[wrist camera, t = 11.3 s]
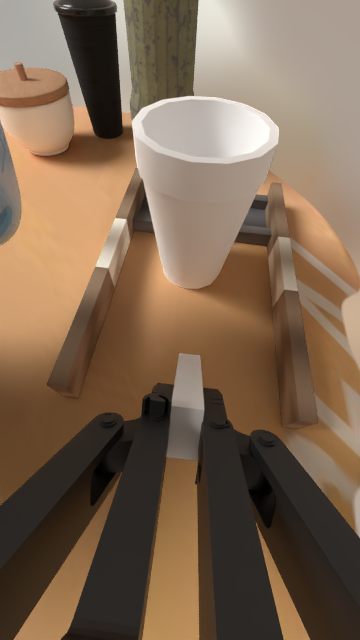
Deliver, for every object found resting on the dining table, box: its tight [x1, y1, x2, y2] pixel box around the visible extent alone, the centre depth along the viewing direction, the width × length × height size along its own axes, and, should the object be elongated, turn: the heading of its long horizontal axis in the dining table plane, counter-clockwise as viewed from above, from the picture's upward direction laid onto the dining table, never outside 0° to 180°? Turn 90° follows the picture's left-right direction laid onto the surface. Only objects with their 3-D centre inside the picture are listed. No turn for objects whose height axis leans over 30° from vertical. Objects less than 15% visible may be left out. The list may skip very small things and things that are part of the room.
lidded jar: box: [0, 62, 75, 156], centre depth 35 cm, size 11×11×9 cm
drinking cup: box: [53, 0, 123, 138], centre depth 34 cm, size 8×8×20 cm
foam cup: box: [132, 96, 279, 289], centre depth 21 cm, size 10×9×13 cm
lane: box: [47, 168, 318, 429], centre depth 25 cm, size 28×18×3 cm, turn 173°
